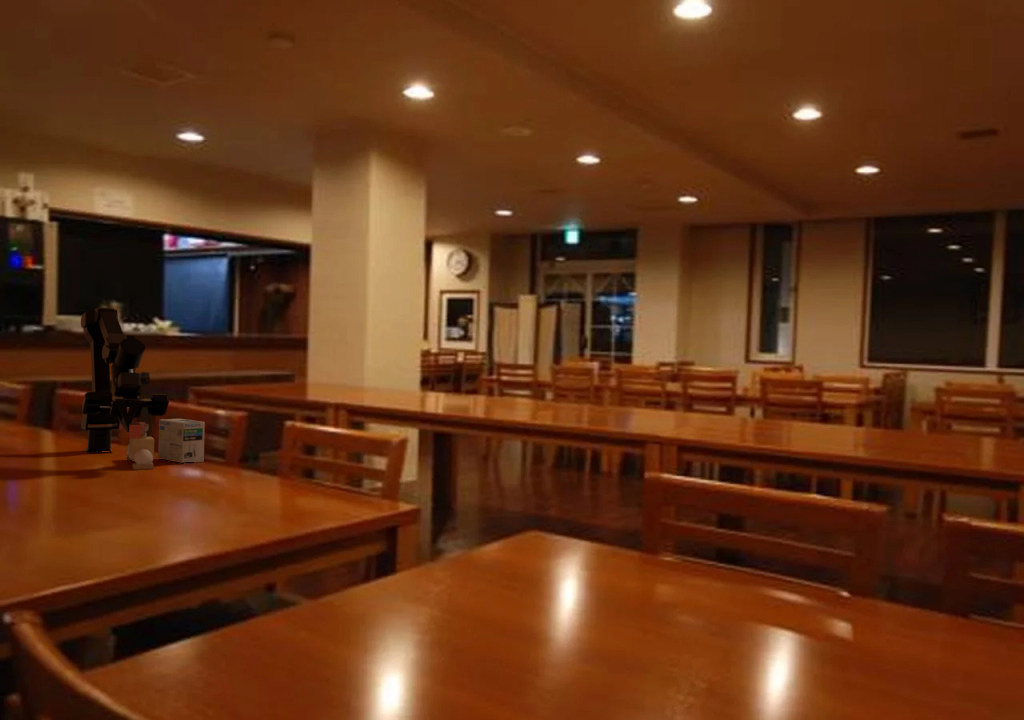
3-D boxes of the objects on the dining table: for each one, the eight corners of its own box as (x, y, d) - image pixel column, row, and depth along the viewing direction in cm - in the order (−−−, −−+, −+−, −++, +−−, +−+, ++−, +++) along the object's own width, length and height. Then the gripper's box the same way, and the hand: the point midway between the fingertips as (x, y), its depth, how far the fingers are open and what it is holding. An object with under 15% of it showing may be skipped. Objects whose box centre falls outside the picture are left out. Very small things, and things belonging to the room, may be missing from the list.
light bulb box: (204, 462, 214) (206, 421, 214) (182, 464, 208) (183, 422, 208) (178, 457, 220) (180, 417, 220) (156, 459, 214) (158, 418, 214)
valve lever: (128, 438, 191) (128, 424, 191) (137, 432, 203) (137, 419, 203) (141, 438, 192) (141, 424, 192) (149, 432, 204) (149, 419, 204)
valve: (124, 459, 211) (125, 426, 211) (144, 458, 214) (146, 426, 214) (132, 469, 197) (133, 434, 197) (154, 468, 199) (156, 434, 199)
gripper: (87, 357, 194) (90, 409, 185) (170, 362, 204) (176, 411, 195) (80, 387, 200) (83, 438, 191) (161, 390, 211) (167, 439, 202)
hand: (128, 431), depth 195 cm, fingers closed
